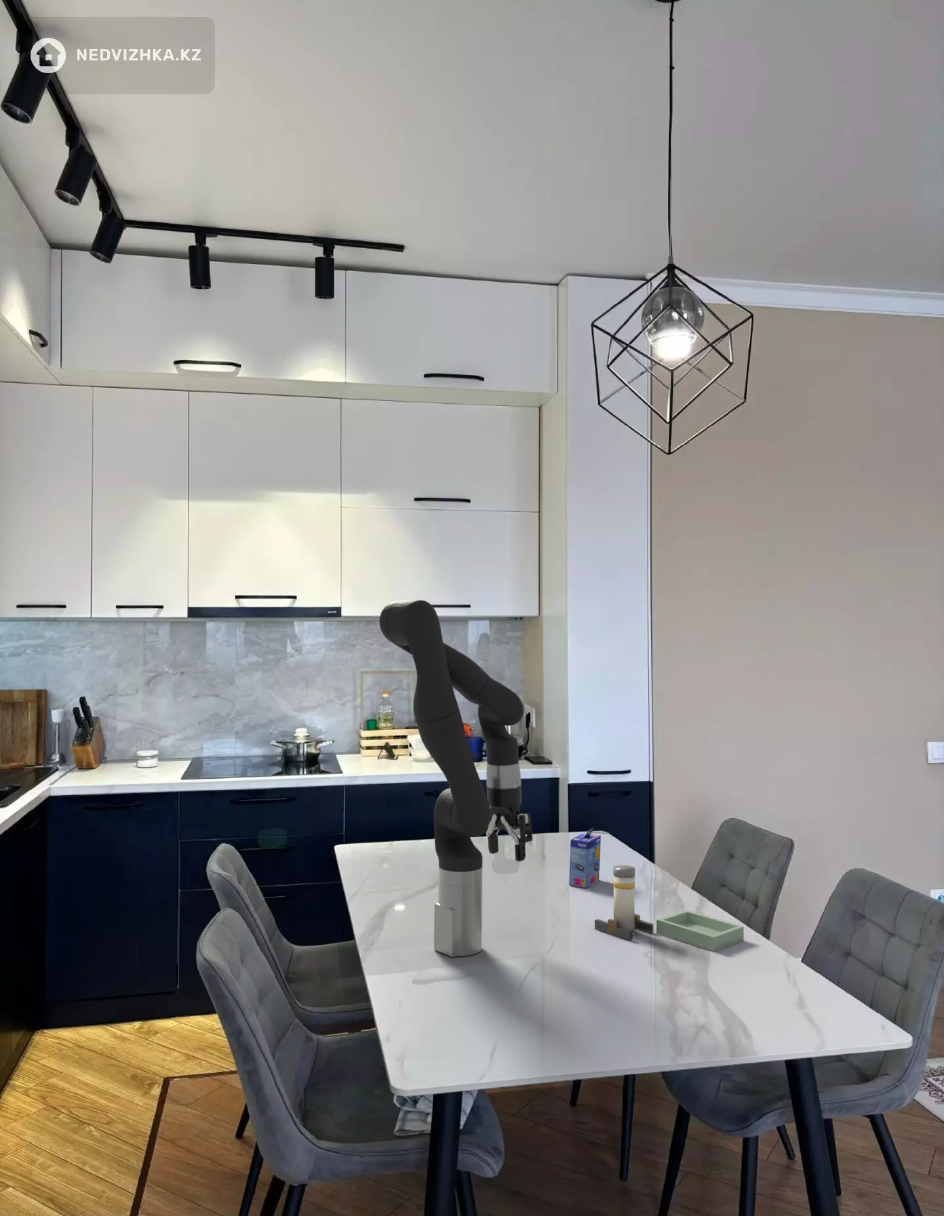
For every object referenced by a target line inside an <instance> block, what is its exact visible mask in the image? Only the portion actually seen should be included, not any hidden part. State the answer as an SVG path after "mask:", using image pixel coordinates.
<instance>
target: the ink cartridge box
mask: <svg viewBox="0 0 944 1216" xmlns="http://www.w3.org/2000/svg"><path fill="white" fill-rule="evenodd" d="M593 830H594V827H592V828H590V829H588V830H587V832H582V833H580V834H579V835H577V836H575V837H573V838H571V839H570V844H569V845H570V847H569V874H568V875H569V877H568V885H569V886H572V887H579V888H584V889H588V888H589V887H591V886H592V885H594V884H596V883H597V882H600V871H601V870H600V868H601V866H600V864H601V839H602V835H598V834H594V833H592V832H593Z"/></svg>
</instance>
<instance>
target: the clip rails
mask: <svg viewBox="0 0 944 1216" xmlns="http://www.w3.org/2000/svg"><path fill="white" fill-rule="evenodd" d="M634 924H635V930H638V931H641V932H644V933H647V934H649V935H651V934H654V923H653V922H649V921H645V920H642V919H641V914H637V913H634ZM594 929H595V930H597V931H600V932H602V933H606V934H609V935H612V936H615V937H617V938H621V939H623V940H627V941H633V934H632V930H629V929H626V928H623V927H620V926H619V921H616V920H614V918H613V919H612V918H609V919H607V921H604V920H602V919H599V918H598V919H597V918H596V919H594Z"/></svg>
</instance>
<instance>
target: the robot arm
mask: <svg viewBox="0 0 944 1216" xmlns="http://www.w3.org/2000/svg"><path fill="white" fill-rule="evenodd" d="M378 623H379V628H380V631H381V633H382V634H383V637H384V638H385V639H386V640H388V642H390V643H392V644H393V645H394V646H396V647H399V648H400V649H402V650H403V651H405V652H407V653H408V654H410V655H411V656H412V658H413V662H414V666H415V672H416V682H415V683H416V684H415V689H414V695H413V703H412V706H413V707H412V710H413V716H414V719H415V724H416V726H417V730H418V733H419V738H420V740H421V742H422V745H423V746H424V747H425V749H426V750H427V753H429V755H430V757H431V758H432V759H433V761H434V762H435V764H437V766H438V768H439V769H440V771H441V772H442V773H443V775H444V777H445V778H446V781H447V784H448V786H449V788H445V790H442V791H441V793H439V795H438V797H437V799H436V802H435V805H434V811H433V828H434V829H433V830H434V832H433V833H434V848H435V853H436V856H437V859H438V888H437V889H438V895H437V896H438V898H437V899H438V900H437V901H438V902H436V903H435V904H434V907H433V909H434V910H433V911H434V913H433V915H434V916H433V919H434V920H433V922H434V923H433V924H434V925H433V950H434V951H437V952H439V953H442V954H443V955H446V956H448V957H451V958H454V957H468V956H473V955H476V954H478V953H480V952H481V951H482V946H483V944H482V943H483V941H482V940H483V854H482V851H481V850H480V849H478V848H477V846H476V845H475V844H474V842H473V841H472V839H471V838H477V837H480V836H481V835H483V834H486V837H487V846H488V847H487V848H488V852H489V854H492V855H493V854H494V855H495V854H498V852H499V835H498V833H499V831H500V830H503V831H504V832H507V833H508V835H509V836H510V837H512V839H513V841H514V843H515V844H514V855H515V856H514V857H515V859H514V860H515V862H518V863H519V862H522V861H525V860H526V843H529V842H532V841H533V839H534V838H533V830H532V828H533V827H532V817H531V814H530V813H529V812H528V813H521V812H520V806H521V805H522V802H523V801H522V799H523V798H522V797H523V795H522V778H521V777H522V775H521V768H520V758H519V757H520V755H519V743H518V742H519V741H518V739H517V737H515V736H514V735H512V734H510V733H509V732H508V731H507V728H506V727H510V726H515V725H517V724H519V722H521V720H522V719H523V717H524V713H525V708H524V703H523V701H522V700H521V698H520V697H519V695H518V694H517V693H515V692H514V691H513V690H512V689H510V688H509V687H507V686H505V685H504V684H502V683H501V682H499V681H497V680H495V679H493V677H491V676H490V675H489V674H488V673H487V672H486V671H485V670H484V669H482V667H481V666H479V665H478V664H477V663H476V662H475V661H474V660H473V659H471V658H470V657H469V656H467V655H465V654H464V653H462V652H461V651H459V650H457V649H455V648H453V647H452V646H450V645H449V644H446V643H445V642H444V640H443V635H442V634H443V633H442V629H441V621H440V619H439V616H438V613H437V610H436V609H435V607H434V606H433V605H432V604H431V603H429V601H426V600H424V599H400V600H396V601H395V600H394V601H392V602H389V603H388V604H386V605H385V606H384V607H383V609H382V610H381V611H380V616H379V621H378ZM454 691H457V692H458V693H459V694H460V695H461V696H462V697H463V698H464V699H466V700H467V701H468V702H470V703H471V704H474V705H475V704H476V705H478V706H477V717H478V722H479V726H480V728H481V732H482V736H483V740H484V742H485V746H486V771H485V772H486V777H485V779H486V791H485V788H484V786H483V783H482V781H481V779H480V776H479V773H478V771H477V770H478V769H477V768H476V765H475V761H474V759H473V756H472V751H471V748H470V745H469V742H468V738H467V735H466V732H465V731H466V730H465V727H464V722H463V718H462V715H461V711H460V708H459V704H458V701H457V698H456V695H455V692H454Z"/></svg>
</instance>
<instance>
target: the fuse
mask: <svg viewBox="0 0 944 1216" xmlns="http://www.w3.org/2000/svg"><path fill="white" fill-rule="evenodd" d="M612 871H613V875H612V876H613V920H616V921H619V926H620V927H623V928H626V929H629V930H632V935H633V934H634V933H635V932H636V931H635V930H636V929H635V924H634V913H635V899H636V898H635V897H636V893H635V888H636V880H635V878H636V867H635V866H631V865H627V864H626V865H625V864H619V865H614V866H613V869H612ZM635 914H636V913H635ZM635 934H636V933H635Z"/></svg>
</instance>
